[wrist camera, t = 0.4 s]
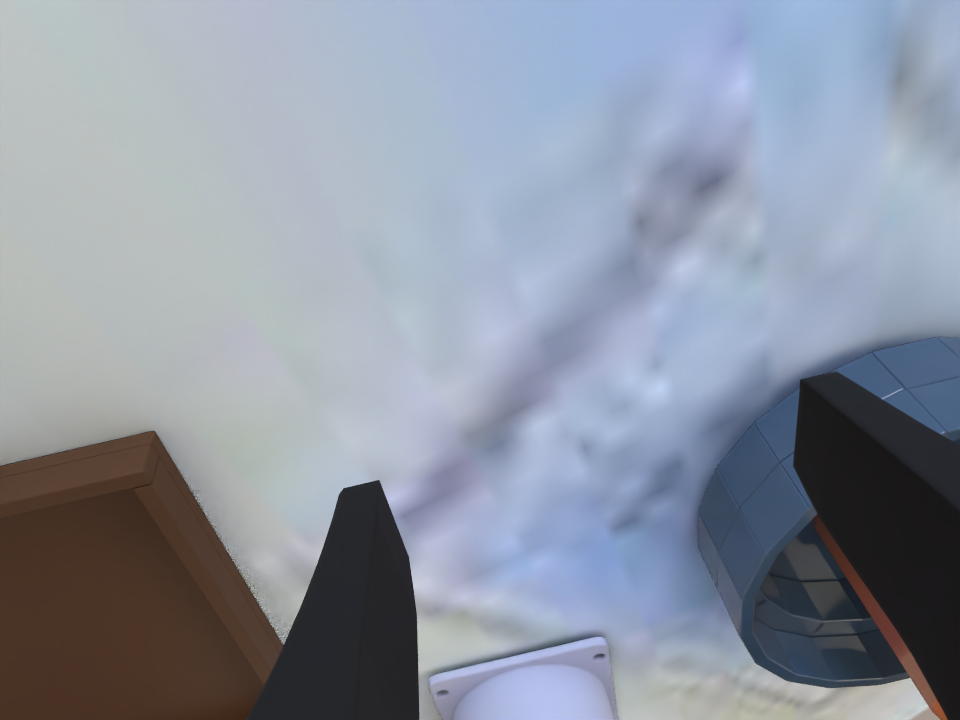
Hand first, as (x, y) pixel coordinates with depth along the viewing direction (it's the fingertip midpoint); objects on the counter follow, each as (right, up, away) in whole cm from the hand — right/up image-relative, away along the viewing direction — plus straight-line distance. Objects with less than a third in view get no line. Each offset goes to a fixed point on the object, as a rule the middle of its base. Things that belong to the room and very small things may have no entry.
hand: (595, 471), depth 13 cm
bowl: (+13, -3, +17) cm, 21 cm away
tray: (-17, -8, +15) cm, 25 cm away
